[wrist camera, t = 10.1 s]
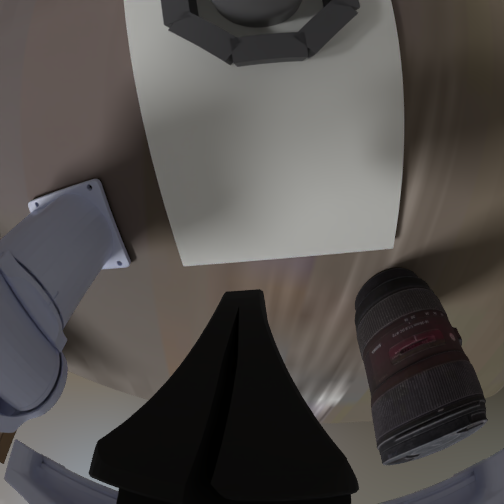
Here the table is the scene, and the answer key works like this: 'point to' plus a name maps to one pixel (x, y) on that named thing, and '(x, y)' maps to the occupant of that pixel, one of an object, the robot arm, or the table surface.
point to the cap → (257, 11)
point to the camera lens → (414, 369)
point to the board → (272, 127)
